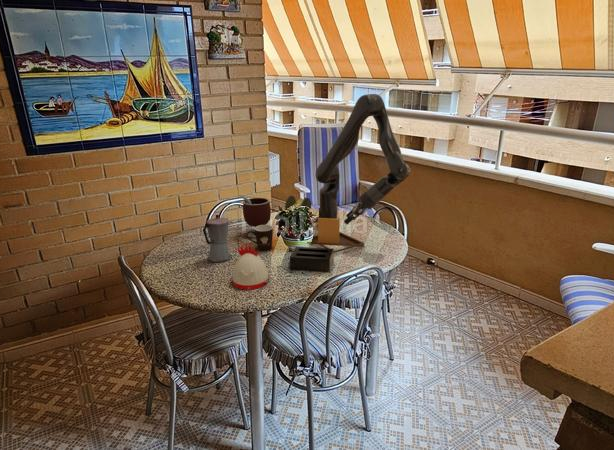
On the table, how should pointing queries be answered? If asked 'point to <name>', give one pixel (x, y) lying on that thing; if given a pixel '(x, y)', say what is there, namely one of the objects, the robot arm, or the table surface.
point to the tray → (340, 242)
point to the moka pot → (217, 238)
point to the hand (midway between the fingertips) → (346, 220)
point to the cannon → (301, 202)
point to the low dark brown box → (312, 259)
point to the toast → (328, 230)
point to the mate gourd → (256, 212)
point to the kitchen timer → (249, 270)
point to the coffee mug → (263, 237)
